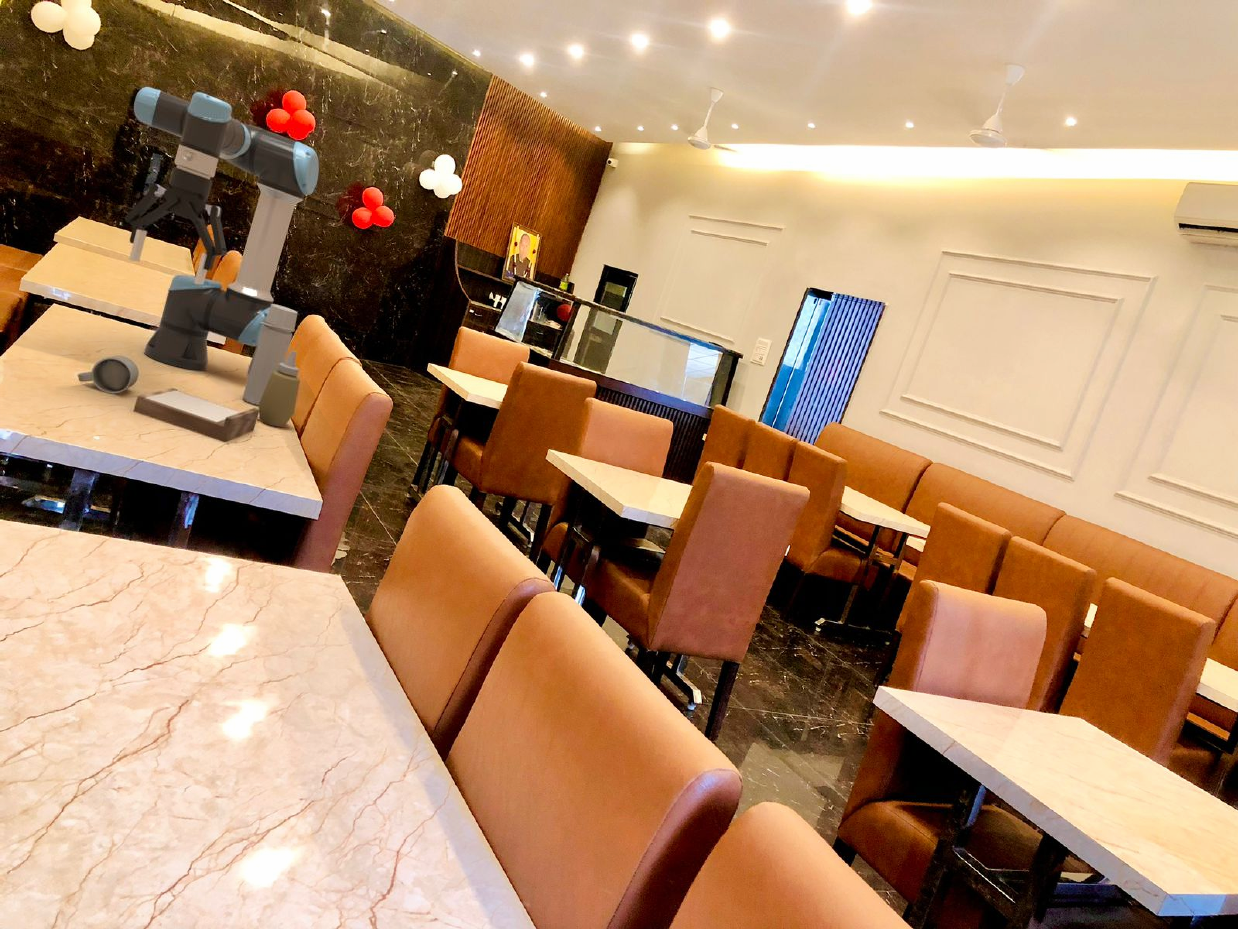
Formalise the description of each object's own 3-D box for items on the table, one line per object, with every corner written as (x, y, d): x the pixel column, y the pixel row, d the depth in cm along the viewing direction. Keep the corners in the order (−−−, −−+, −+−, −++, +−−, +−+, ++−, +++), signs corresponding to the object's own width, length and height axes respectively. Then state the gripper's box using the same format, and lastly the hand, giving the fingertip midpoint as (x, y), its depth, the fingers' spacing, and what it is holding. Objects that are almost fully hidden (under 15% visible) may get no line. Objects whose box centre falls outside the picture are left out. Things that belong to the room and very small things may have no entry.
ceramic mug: (136, 391, 194) (144, 358, 192) (126, 398, 186) (135, 363, 185) (82, 377, 190) (91, 343, 189) (71, 384, 183) (79, 348, 181)
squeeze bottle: (260, 415, 212) (281, 344, 209) (293, 426, 213) (315, 355, 210) (249, 419, 204) (271, 346, 201) (283, 431, 205) (305, 358, 202)
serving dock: (169, 401, 195) (175, 380, 194) (253, 430, 197) (259, 409, 196) (133, 411, 179) (139, 388, 178) (225, 442, 181) (231, 419, 180)
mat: (175, 391, 194) (175, 390, 193) (242, 414, 195) (242, 413, 195) (144, 398, 180) (144, 397, 180) (216, 422, 181) (216, 422, 181)
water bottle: (278, 408, 224) (306, 315, 220) (254, 407, 217) (282, 310, 213) (253, 396, 228) (280, 304, 224) (229, 394, 220) (256, 298, 216)
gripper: (123, 146, 175) (96, 249, 178) (246, 192, 177) (217, 293, 180) (142, 153, 182) (116, 251, 185) (259, 196, 184) (232, 293, 188)
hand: (166, 272), depth 183 cm, fingers open, 13 cm apart
